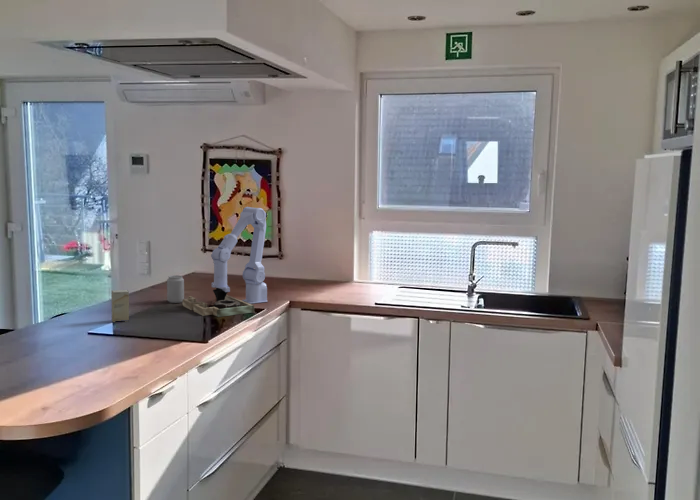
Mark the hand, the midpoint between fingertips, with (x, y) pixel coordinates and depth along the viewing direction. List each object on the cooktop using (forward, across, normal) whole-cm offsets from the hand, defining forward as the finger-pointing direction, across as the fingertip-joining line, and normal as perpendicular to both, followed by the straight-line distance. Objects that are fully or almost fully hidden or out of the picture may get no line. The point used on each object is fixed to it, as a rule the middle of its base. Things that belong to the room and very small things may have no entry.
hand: (220, 305), depth 280 cm
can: (+1, -21, -13) cm, 24 cm away
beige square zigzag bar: (+1, 0, -2) cm, 3 cm away
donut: (+1, +7, 0) cm, 7 cm away
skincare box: (+1, +2, -44) cm, 45 cm away
